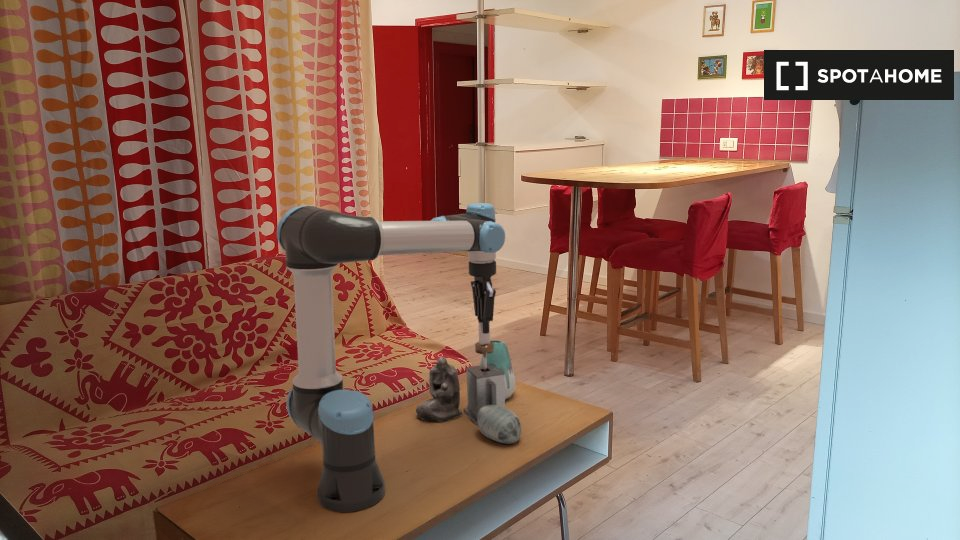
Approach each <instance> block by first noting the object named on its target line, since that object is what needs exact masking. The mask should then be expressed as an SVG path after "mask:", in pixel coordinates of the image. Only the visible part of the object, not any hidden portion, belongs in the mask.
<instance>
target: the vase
mask: <svg viewBox="0 0 960 540" xmlns="http://www.w3.org/2000/svg"><path fill="white" fill-rule="evenodd" d="M490 342H492V343H494V352H492V353H490V354H487V364H492V363H494V364H495V365H496V366H497V367H498V368H499V369H501V370H502V371H503V372H504V383H505V400H507V399H509V398H510V397H511V396H512V395H513V393H514V391H515V389H516V376H515V371H514V370H515V369H514V367H513V363H512V360H511V357H510V353H509V349H508V346H507V344H506V343H505V341H503V340H500V339H490ZM479 365H483V354H481V359H480V363H479Z"/></svg>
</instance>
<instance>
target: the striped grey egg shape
mask: <svg viewBox="0 0 960 540" xmlns="http://www.w3.org/2000/svg"><path fill="white" fill-rule="evenodd" d="M477 423H478V425H477V427H478V430H479V432H480V433H481V434H482V435H483V436H485V437H486V438H488V439H490V440H492V441H496V442H497V443H501V444H506V445H507V444H508V445H509V444H516V443H517V442H518V441H519V439H520V437H521V434H522V427H521V421H520V419H519V417H518V416H517V415H516V413H515V412H513V411H512V410H511V409H508V408H507V407H505V408H504V407H502V406H497V405H487V406H484V407H482V408H481V409H480V410H479V412H478V416H477Z"/></svg>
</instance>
